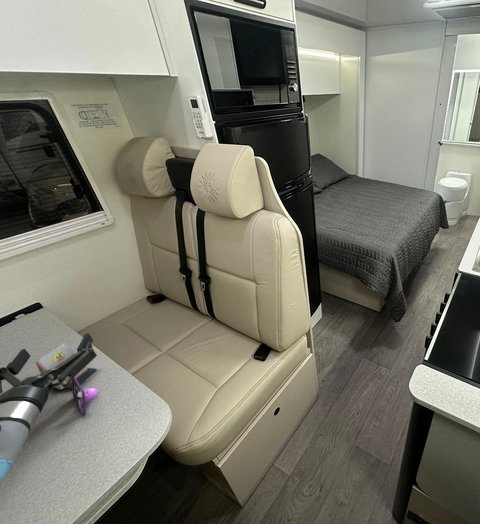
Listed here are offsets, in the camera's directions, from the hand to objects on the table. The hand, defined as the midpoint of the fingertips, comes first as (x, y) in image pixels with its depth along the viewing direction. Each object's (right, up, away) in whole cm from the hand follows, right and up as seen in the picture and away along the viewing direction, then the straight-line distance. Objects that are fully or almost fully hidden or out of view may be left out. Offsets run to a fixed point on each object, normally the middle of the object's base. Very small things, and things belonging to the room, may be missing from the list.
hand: (58, 344), depth 77 cm
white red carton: (+2, -10, +2) cm, 10 cm away
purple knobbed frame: (+12, -13, -4) cm, 19 cm away
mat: (+2, -10, +2) cm, 10 cm away
